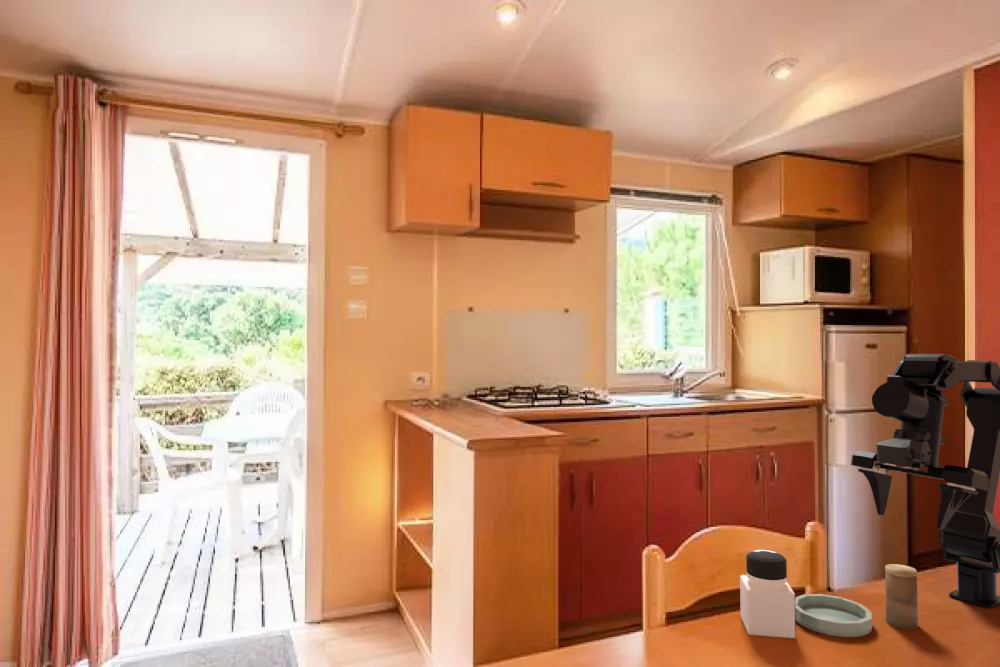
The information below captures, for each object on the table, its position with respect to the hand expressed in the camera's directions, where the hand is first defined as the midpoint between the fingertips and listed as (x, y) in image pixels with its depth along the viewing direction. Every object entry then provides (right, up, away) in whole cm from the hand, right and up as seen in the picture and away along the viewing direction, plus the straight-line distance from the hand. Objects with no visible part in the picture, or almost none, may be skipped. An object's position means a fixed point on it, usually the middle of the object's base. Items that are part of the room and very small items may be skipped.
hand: (909, 521), depth 103 cm
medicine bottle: (-23, -17, -1) cm, 29 cm away
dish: (-12, -17, +2) cm, 21 cm away
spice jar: (-1, -17, 0) cm, 17 cm away
